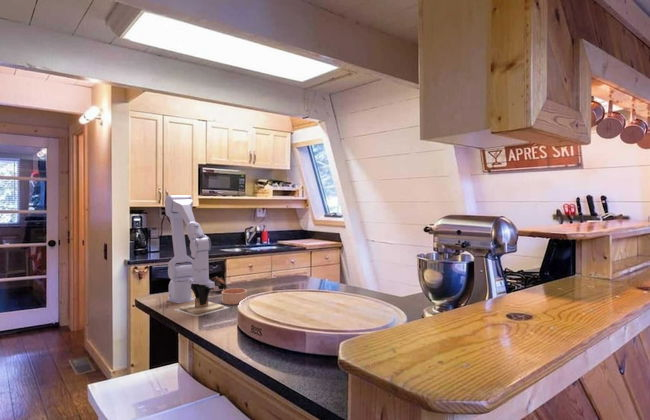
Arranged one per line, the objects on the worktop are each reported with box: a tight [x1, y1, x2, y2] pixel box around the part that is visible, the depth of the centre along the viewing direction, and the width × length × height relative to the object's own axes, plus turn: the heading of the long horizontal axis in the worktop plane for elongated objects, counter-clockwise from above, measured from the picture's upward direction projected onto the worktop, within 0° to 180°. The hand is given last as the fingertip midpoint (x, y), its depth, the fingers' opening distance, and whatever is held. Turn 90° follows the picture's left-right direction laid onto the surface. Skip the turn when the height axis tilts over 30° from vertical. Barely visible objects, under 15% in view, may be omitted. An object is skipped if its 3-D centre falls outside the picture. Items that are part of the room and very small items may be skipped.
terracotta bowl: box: [221, 287, 248, 305], centre depth 173 cm, size 10×10×4 cm
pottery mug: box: [210, 276, 228, 291], centre depth 191 cm, size 12×10×8 cm
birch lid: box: [178, 296, 225, 314], centre depth 162 cm, size 12×12×4 cm
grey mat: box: [173, 305, 230, 317], centre depth 162 cm, size 15×15×1 cm
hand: (201, 304), depth 162 cm, fingers closed on birch lid
